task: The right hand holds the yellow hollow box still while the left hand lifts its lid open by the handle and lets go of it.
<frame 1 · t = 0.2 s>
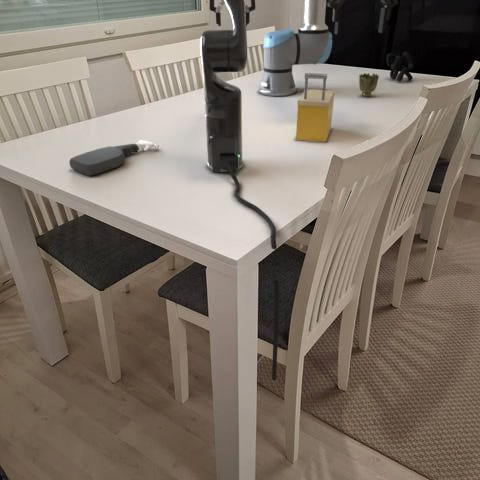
left hand: (233, 25, 142), 29 cm above the table, tool pointing down, fingers open, 8 cm apart
right hand: (359, 33, 132), 28 cm above the table, tool pointing down, fingers open, 13 cm apart
squiggle: (399, 80, 200), on the table
cup: (366, 96, 178), on the table
yellow hollow box: (313, 134, 141), on the table
spray bottle: (117, 159, 125), on the table
lid: (317, 85, 132), point 15 cm above the table, hinge at 0.0°
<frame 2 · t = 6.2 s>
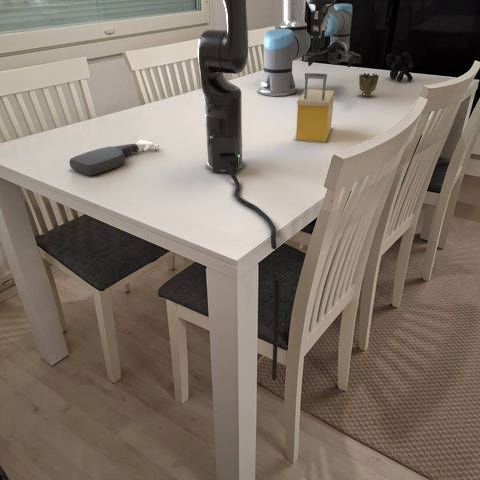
left hand: (317, 50, 123), 25 cm above the table, tool pointing down, fingers open, 8 cm apart
right hand: (329, 62, 153), 17 cm above the table, tool horizontal, fingers open, 13 cm apart
nothing on the table moved.
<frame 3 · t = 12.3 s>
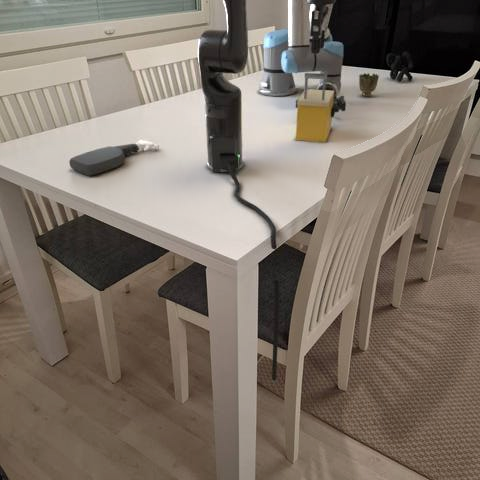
left hand: (317, 50, 123), 25 cm above the table, tool pointing down, fingers open, 8 cm apart
right hand: (316, 111, 140), 6 cm above the table, tool horizontal, fingers closed on yellow hollow box, 9 cm apart
yellow hollow box: (313, 134, 141), on the table, touching right hand
everything else where it was.
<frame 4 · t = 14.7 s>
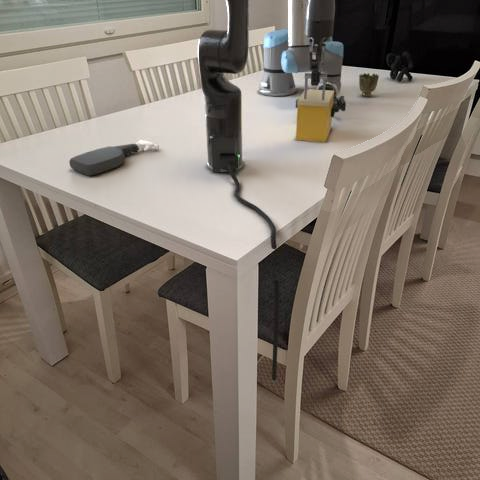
left hand: (315, 84, 128), 16 cm above the table, tool pointing down, fingers closed
right hand: (316, 111, 140), 6 cm above the table, tool horizontal, fingers closed on yellow hollow box, 9 cm apart
yellow hollow box: (313, 134, 141), on the table, touching right hand
lid: (317, 85, 132), point 15 cm above the table, hinge at -0.1°, touching left hand
everything else where it was.
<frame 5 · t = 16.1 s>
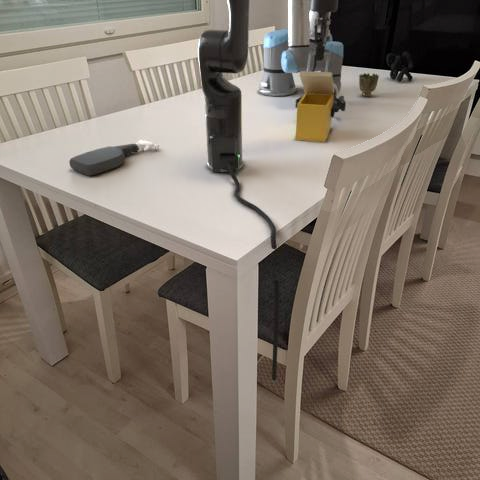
left hand: (319, 59, 130), 22 cm above the table, tool pointing down, fingers closed
right hand: (316, 111, 140), 6 cm above the table, tool horizontal, fingers closed on yellow hollow box, 9 cm apart
yellow hollow box: (313, 133, 141), on the table, touching right hand
lid: (319, 71, 133), point 18 cm above the table, hinge at 33.8°, touching left hand
everything else where it was.
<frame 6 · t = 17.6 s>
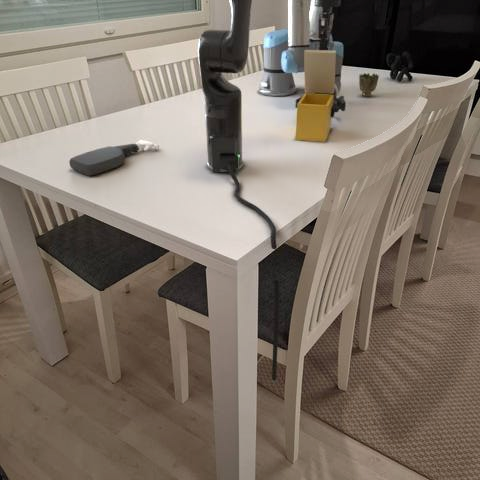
left hand: (323, 52, 136), 23 cm above the table, tool pointing down, fingers open, 3 cm apart
right hand: (316, 111, 140), 6 cm above the table, tool horizontal, fingers closed on yellow hollow box, 9 cm apart
yellow hollow box: (313, 133, 141), on the table, touching right hand
lid: (321, 65, 136), point 19 cm above the table, hinge at 66.2°
everything else where it was.
when the right hand's fingers open (6 cm above the table, at t = 21.4 s): yellow hollow box stays where it is, on the table.
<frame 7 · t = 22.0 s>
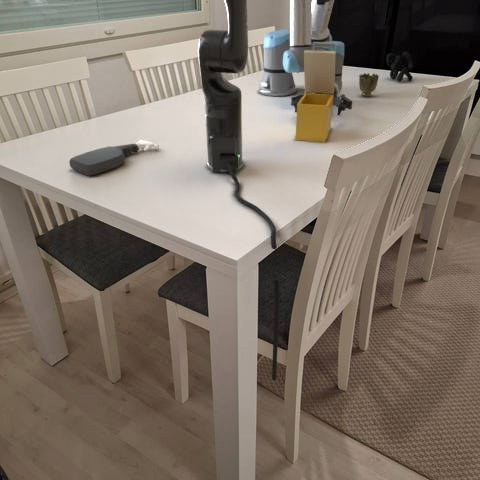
left hand: (323, 3, 121), 36 cm above the table, tool pointing down, fingers open, 8 cm apart
right hand: (317, 109, 142), 6 cm above the table, tool horizontal, fingers open, 13 cm apart
yellow hollow box: (313, 134, 141), on the table
lid: (321, 65, 136), point 19 cm above the table, hinge at 65.2°
everything else where it was.
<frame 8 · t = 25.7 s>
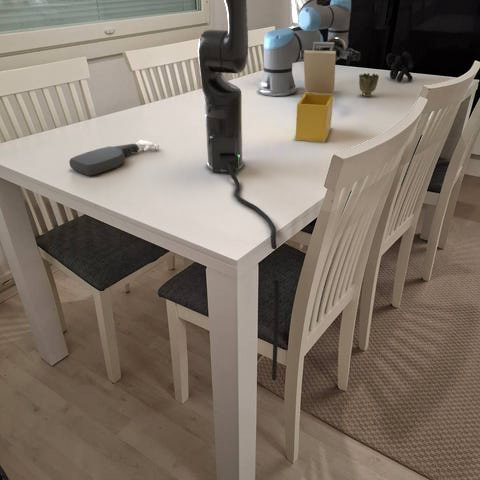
left hand: (323, 3, 121), 36 cm above the table, tool pointing down, fingers open, 8 cm apart
right hand: (326, 59, 145), 19 cm above the table, tool horizontal, fingers open, 13 cm apart
nothing on the table moved.
at the end: lid at +65° (first picture: +0°); the left hand is holding nothing; the right hand is holding nothing; yellow hollow box tilted 0°; yellow hollow box never tilted more than 1° during the clip; yellow hollow box moved 0.1 cm from its start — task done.
